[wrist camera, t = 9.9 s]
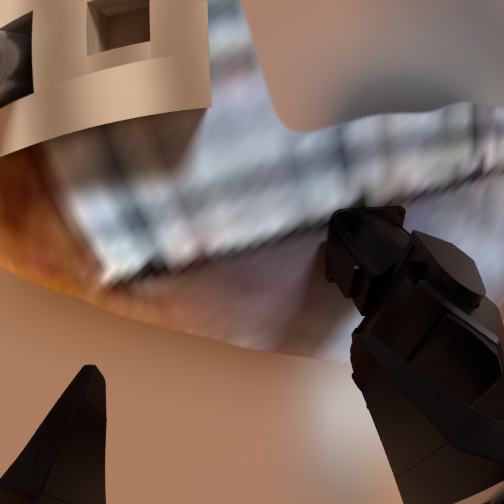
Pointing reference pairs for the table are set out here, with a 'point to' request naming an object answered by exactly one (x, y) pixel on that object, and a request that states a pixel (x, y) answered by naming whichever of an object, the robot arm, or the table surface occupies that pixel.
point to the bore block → (105, 64)
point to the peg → (15, 66)
